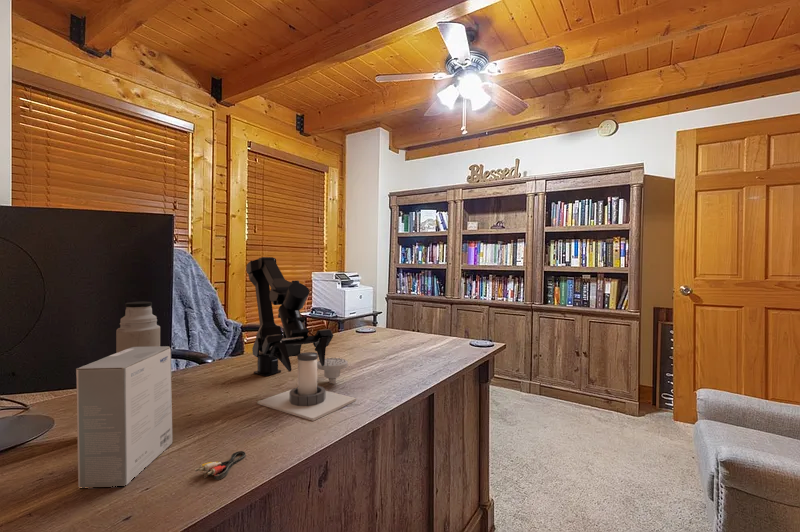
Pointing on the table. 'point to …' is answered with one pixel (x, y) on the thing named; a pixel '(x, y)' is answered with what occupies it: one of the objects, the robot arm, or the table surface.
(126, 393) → the hard drive box
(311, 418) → the socket
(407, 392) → the table surface
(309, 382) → the canister
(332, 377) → the showerhead
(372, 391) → the table surface
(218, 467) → the composite cable
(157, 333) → the thermos bottle
